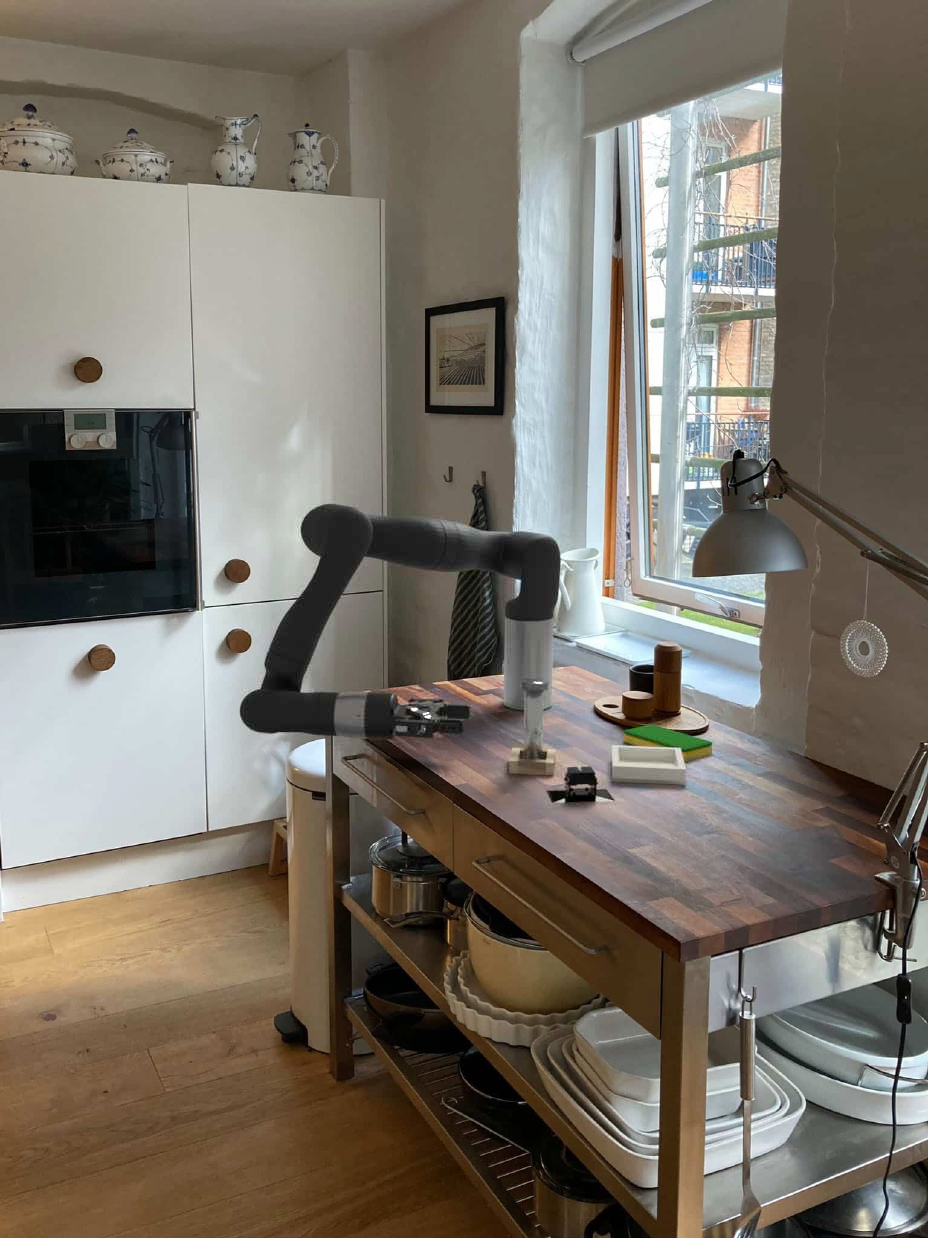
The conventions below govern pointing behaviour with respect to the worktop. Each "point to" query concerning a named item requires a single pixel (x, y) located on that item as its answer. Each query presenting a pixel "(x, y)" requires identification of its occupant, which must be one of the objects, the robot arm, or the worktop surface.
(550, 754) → the socket block
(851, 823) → the worktop surface
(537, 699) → the pin
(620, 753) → the dish
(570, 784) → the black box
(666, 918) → the worktop surface
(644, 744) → the dish sponge
